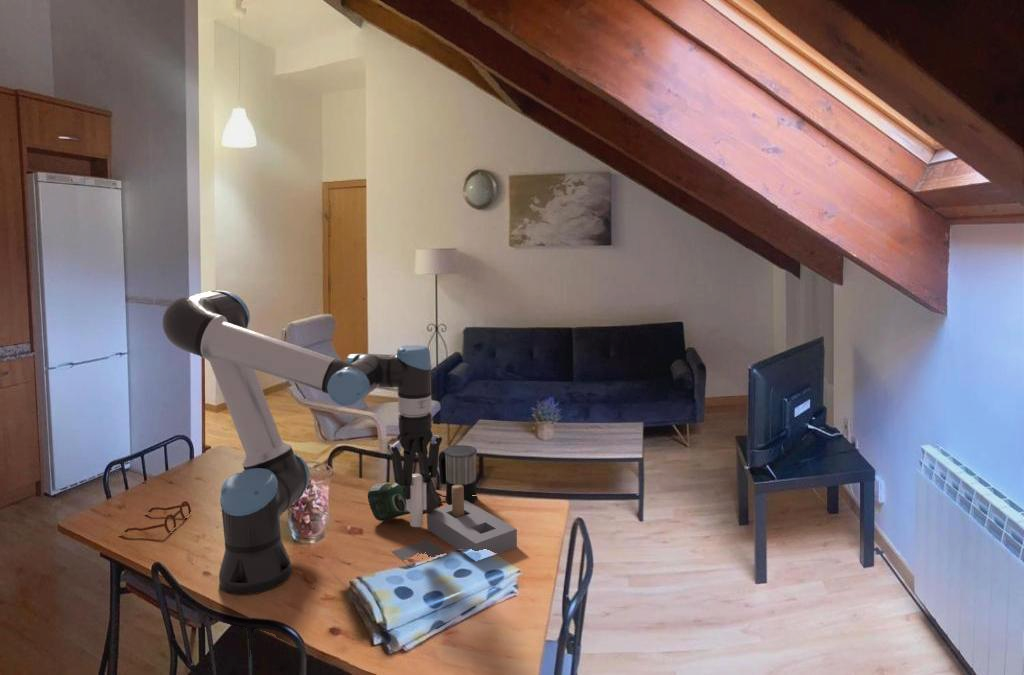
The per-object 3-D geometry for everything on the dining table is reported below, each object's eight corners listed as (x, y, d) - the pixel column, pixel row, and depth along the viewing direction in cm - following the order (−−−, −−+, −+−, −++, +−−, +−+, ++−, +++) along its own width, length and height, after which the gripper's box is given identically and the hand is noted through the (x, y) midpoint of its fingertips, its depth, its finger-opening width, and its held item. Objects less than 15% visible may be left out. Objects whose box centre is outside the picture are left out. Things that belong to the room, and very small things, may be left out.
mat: (411, 569, 155) (411, 567, 155) (391, 553, 163) (391, 551, 163) (448, 556, 161) (448, 554, 161) (427, 540, 169) (427, 539, 169)
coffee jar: (393, 512, 186) (445, 505, 176) (374, 525, 179) (427, 518, 169) (382, 478, 185) (434, 470, 175) (362, 490, 178) (415, 482, 168)
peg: (414, 528, 159) (413, 479, 157) (407, 523, 161) (407, 475, 159) (425, 524, 161) (424, 476, 159) (418, 520, 163) (418, 472, 161)
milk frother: (484, 497, 196) (483, 448, 193) (451, 518, 182) (450, 465, 180) (444, 488, 203) (443, 440, 200) (410, 507, 189) (408, 456, 187)
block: (476, 563, 158) (475, 514, 156) (427, 530, 175) (425, 486, 173) (516, 548, 165) (516, 501, 163) (466, 517, 182) (465, 475, 180)
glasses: (169, 537, 174) (167, 519, 173) (117, 538, 173) (115, 520, 173) (192, 515, 186) (191, 498, 186) (144, 516, 186) (142, 499, 186)
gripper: (392, 422, 149) (394, 523, 153) (452, 411, 158) (452, 506, 162) (376, 414, 155) (379, 512, 159) (435, 404, 164) (436, 496, 168)
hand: (416, 509), depth 160 cm, fingers closed on peg, 2 cm apart
